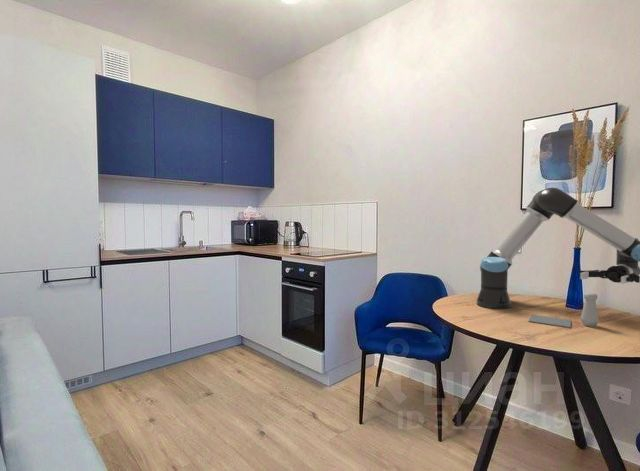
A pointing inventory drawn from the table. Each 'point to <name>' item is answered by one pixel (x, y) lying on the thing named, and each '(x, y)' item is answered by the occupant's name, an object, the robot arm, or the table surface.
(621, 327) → the table surface
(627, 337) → the table surface
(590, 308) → the salt shaker
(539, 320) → the mat
